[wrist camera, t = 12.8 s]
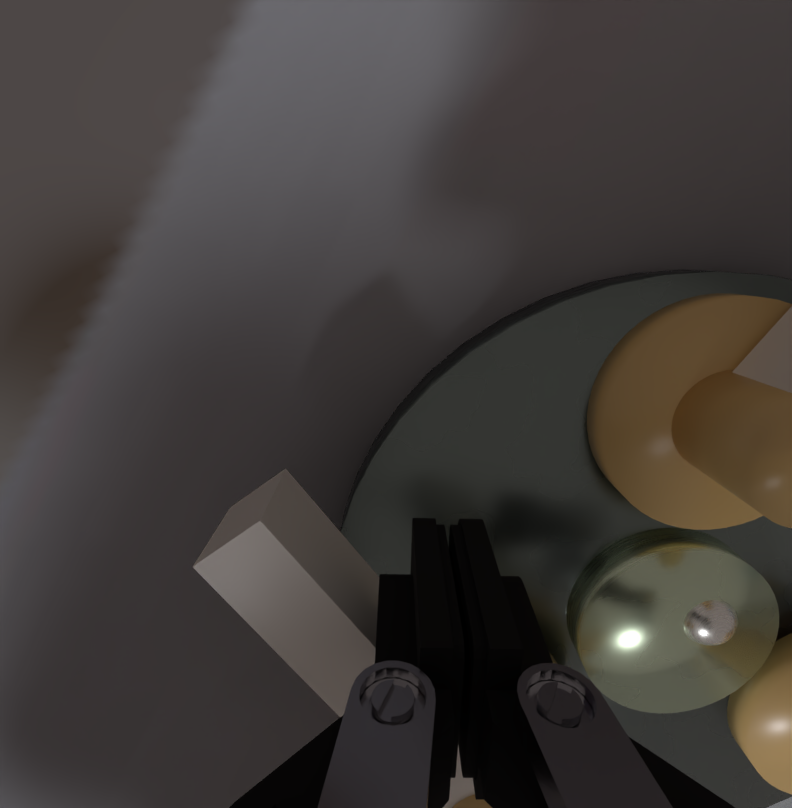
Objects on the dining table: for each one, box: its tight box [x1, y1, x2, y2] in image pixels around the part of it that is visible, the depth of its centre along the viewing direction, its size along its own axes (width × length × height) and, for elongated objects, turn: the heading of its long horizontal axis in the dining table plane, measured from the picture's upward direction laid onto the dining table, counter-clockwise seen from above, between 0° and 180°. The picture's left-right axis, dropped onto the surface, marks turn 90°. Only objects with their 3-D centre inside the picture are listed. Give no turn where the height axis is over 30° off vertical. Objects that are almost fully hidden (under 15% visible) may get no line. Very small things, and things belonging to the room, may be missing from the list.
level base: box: [341, 270, 792, 808], centre depth 15 cm, size 20×20×3 cm
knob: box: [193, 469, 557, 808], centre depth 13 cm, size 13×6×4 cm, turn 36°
